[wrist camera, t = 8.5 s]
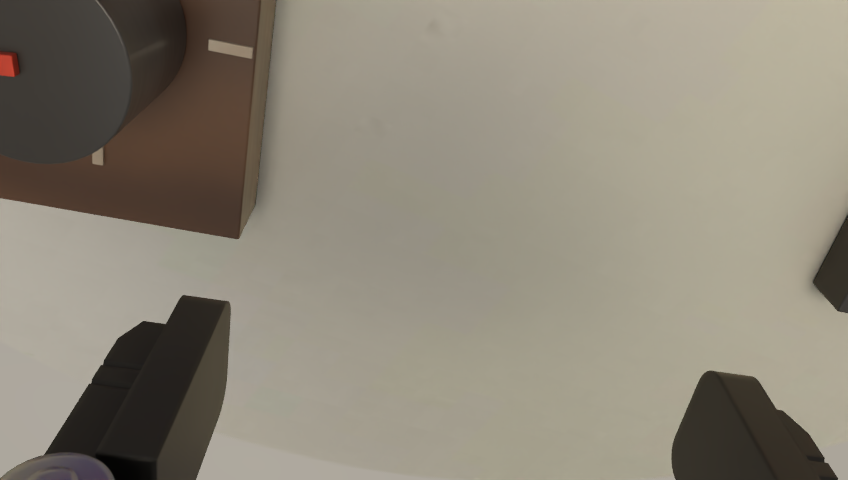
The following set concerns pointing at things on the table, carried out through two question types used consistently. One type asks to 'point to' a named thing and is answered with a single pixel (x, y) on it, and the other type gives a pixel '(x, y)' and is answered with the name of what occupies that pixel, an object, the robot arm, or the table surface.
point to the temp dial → (81, 71)
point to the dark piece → (836, 272)
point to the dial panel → (178, 136)
